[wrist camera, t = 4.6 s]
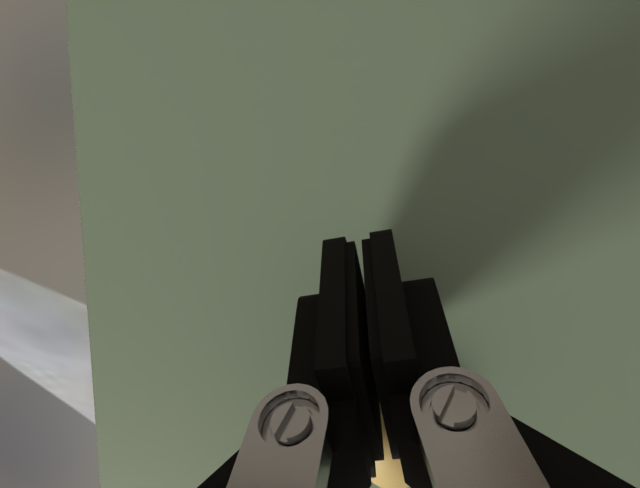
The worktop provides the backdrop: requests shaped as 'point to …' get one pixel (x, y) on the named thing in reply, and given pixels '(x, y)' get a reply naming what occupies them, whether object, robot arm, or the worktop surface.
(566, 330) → the box lid
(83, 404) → the worktop surface
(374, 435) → the robot arm
